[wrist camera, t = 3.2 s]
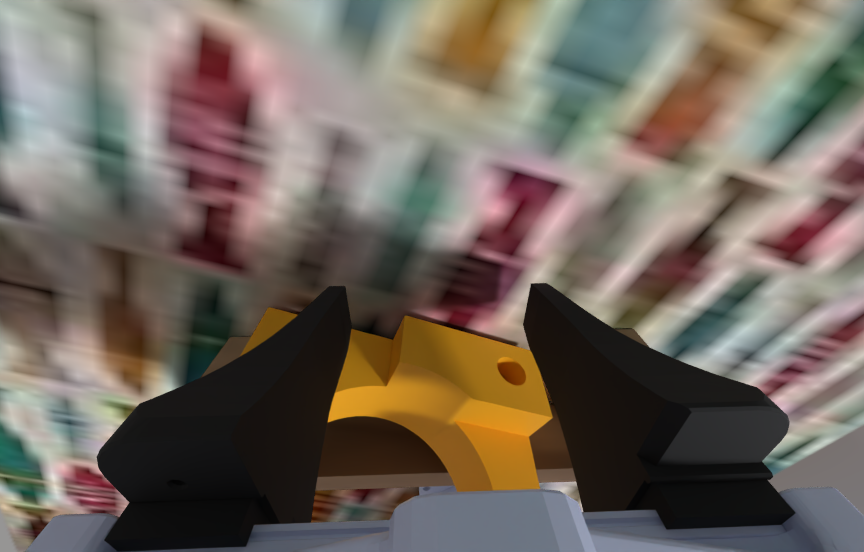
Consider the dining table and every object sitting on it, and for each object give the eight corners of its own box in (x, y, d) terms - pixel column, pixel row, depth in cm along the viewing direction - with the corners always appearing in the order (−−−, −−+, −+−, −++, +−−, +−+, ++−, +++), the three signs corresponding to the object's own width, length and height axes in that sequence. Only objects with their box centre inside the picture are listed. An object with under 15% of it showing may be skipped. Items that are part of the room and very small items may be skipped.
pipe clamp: (534, 351, 15) (580, 515, 10) (490, 397, 18) (511, 546, 13) (271, 277, 13) (162, 448, 8) (264, 343, 15) (179, 504, 10)
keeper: (596, 416, 19) (629, 479, 16) (267, 426, 18) (238, 493, 15) (633, 329, 16) (684, 388, 13) (229, 336, 15) (183, 401, 12)
